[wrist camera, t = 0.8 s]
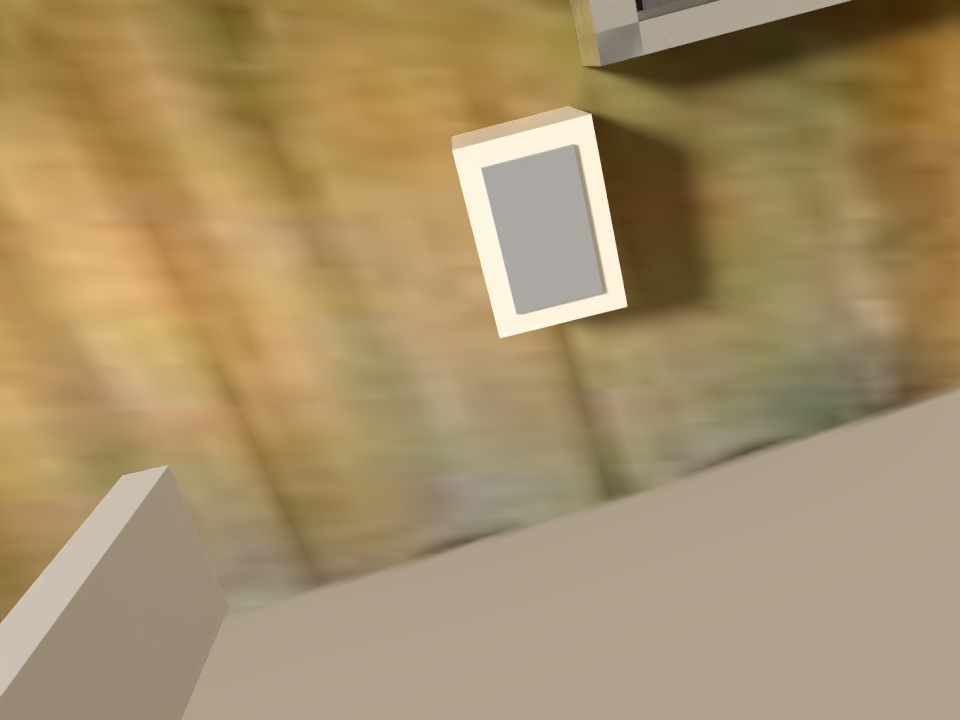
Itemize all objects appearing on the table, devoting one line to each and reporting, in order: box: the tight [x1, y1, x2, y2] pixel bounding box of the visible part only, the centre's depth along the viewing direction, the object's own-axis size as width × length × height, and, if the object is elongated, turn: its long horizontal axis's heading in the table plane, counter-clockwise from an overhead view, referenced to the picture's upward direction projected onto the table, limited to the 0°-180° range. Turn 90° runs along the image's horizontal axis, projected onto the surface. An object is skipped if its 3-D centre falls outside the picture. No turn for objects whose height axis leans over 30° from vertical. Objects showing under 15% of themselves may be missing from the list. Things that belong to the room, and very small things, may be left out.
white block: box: [452, 106, 628, 338], centre depth 28 cm, size 6×4×5 cm
